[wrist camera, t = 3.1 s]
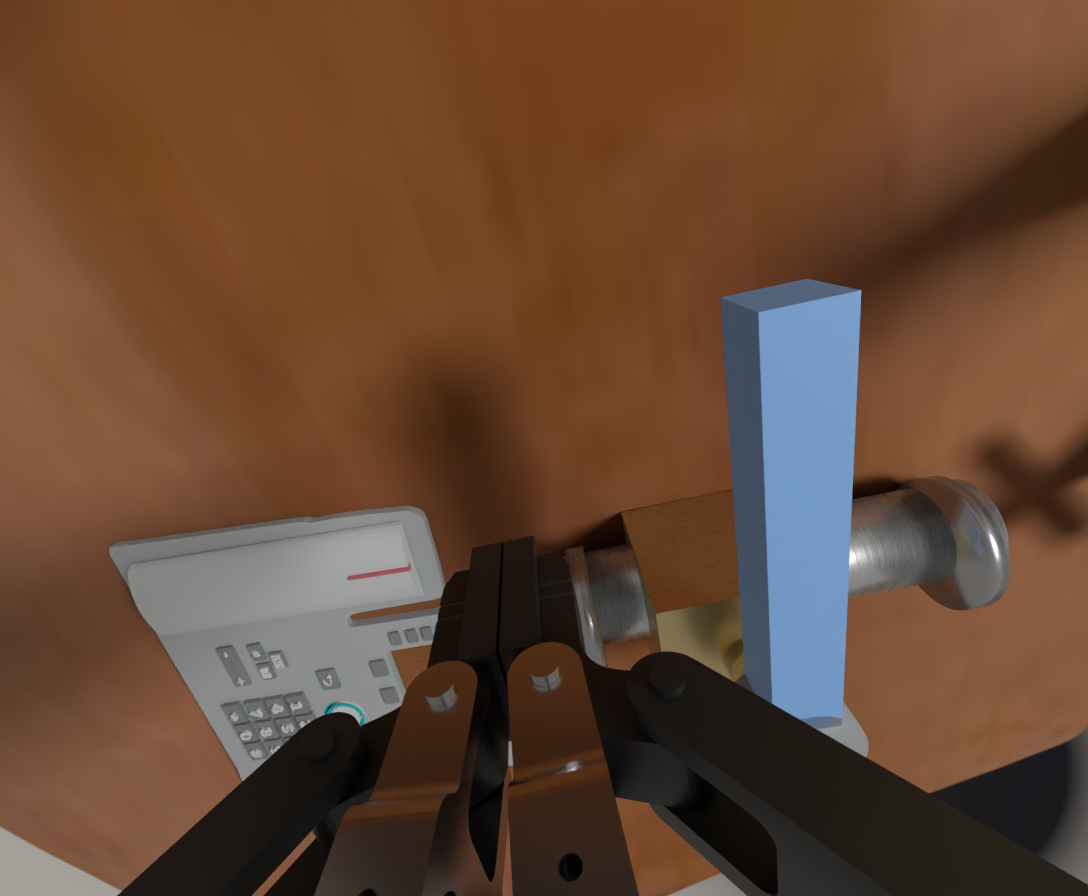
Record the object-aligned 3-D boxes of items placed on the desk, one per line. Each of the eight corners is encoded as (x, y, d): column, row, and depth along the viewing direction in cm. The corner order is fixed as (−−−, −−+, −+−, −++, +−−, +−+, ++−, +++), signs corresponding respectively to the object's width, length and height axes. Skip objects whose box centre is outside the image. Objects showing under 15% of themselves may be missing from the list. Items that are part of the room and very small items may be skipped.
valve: (574, 618, 32) (596, 785, 23) (552, 525, 30) (567, 672, 20) (928, 550, 32) (1106, 695, 22) (940, 448, 29) (1151, 563, 19)
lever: (685, 305, 14) (716, 321, 12) (843, 271, 14) (905, 280, 12) (725, 745, 22) (749, 806, 20) (829, 726, 22) (865, 786, 20)
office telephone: (82, 563, 27) (454, 503, 27) (118, 536, 30) (460, 480, 29) (251, 832, 36) (531, 792, 36) (268, 794, 39) (530, 756, 38)
